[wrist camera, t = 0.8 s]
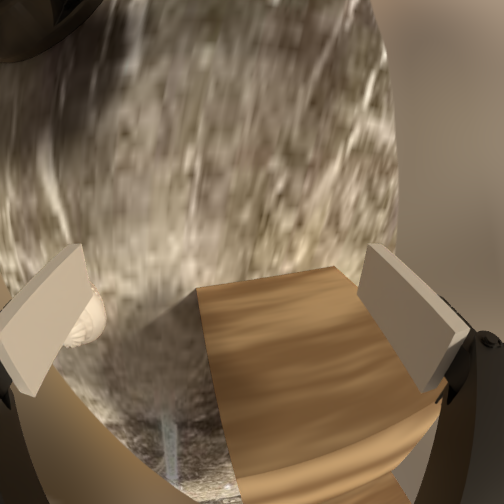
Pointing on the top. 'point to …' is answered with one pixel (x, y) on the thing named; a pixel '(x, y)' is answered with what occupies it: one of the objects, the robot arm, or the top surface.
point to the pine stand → (310, 391)
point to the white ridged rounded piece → (88, 322)
